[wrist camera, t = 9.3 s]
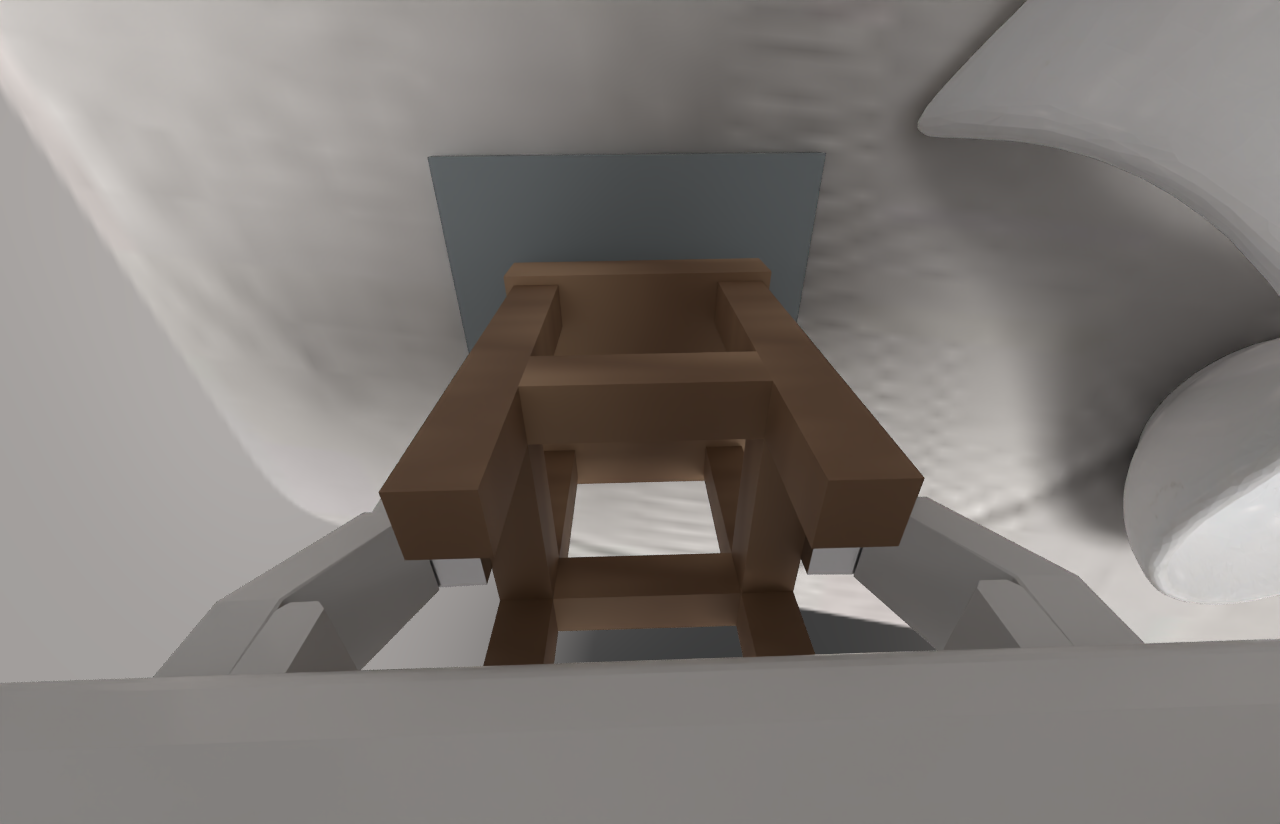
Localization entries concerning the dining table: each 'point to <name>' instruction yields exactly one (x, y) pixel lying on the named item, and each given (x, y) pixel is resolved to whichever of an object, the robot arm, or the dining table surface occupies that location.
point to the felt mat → (622, 215)
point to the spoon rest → (1210, 185)
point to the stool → (646, 453)
